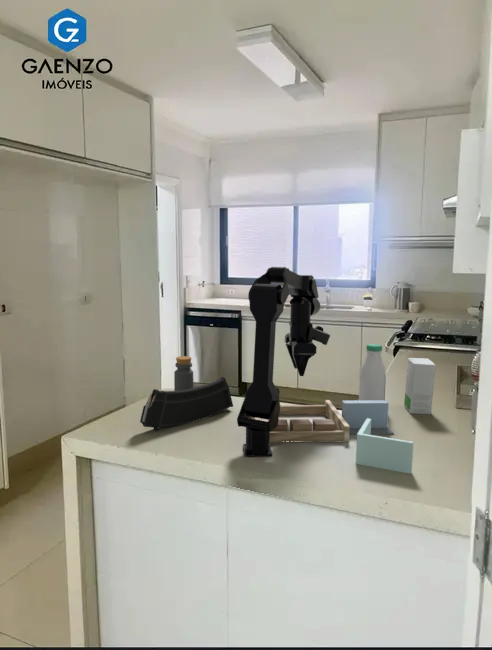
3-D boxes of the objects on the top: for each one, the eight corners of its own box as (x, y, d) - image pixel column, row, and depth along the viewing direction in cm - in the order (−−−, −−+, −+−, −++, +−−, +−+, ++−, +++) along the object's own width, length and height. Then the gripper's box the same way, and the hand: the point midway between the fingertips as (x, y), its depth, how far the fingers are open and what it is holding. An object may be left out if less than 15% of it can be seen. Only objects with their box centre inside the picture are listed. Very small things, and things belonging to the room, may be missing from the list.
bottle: (188, 408, 147) (188, 360, 145) (171, 406, 149) (170, 358, 147) (196, 402, 152) (196, 356, 150) (179, 401, 154) (179, 355, 152)
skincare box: (403, 405, 152) (406, 357, 150) (425, 406, 152) (428, 357, 150) (410, 414, 144) (413, 363, 142) (433, 414, 144) (436, 363, 141)
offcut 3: (334, 439, 124) (335, 424, 123) (315, 439, 124) (315, 424, 123) (330, 433, 128) (331, 418, 127) (312, 433, 128) (312, 419, 127)
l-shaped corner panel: (411, 476, 104) (413, 443, 103) (355, 465, 109) (357, 434, 108) (416, 455, 115) (418, 425, 114) (365, 447, 120) (366, 418, 119)
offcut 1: (287, 439, 123) (288, 424, 122) (268, 439, 123) (268, 424, 122) (286, 434, 127) (286, 419, 126) (267, 433, 127) (267, 419, 126)
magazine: (232, 378, 148) (152, 364, 127) (239, 380, 146) (159, 366, 125) (219, 433, 147) (137, 428, 126) (226, 436, 145) (144, 431, 124)
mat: (393, 434, 127) (393, 432, 127) (345, 434, 127) (345, 433, 126) (381, 421, 137) (381, 420, 137) (336, 421, 136) (336, 420, 136)
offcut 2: (311, 439, 124) (312, 424, 123) (292, 439, 123) (293, 424, 123) (307, 433, 128) (308, 418, 127) (289, 434, 127) (289, 419, 126)
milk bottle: (383, 413, 144) (386, 348, 141) (356, 410, 147) (359, 346, 144) (385, 406, 151) (388, 343, 149) (360, 403, 154) (363, 341, 151)
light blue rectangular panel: (387, 427, 131) (388, 403, 130) (343, 428, 130) (344, 403, 129) (383, 424, 133) (385, 400, 132) (341, 425, 133) (342, 400, 132)
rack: (348, 441, 122) (349, 426, 121) (256, 442, 121) (257, 427, 120) (328, 413, 144) (329, 400, 144) (250, 413, 143) (250, 400, 142)
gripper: (336, 323, 129) (333, 380, 131) (321, 315, 147) (319, 364, 150) (294, 323, 128) (293, 380, 131) (285, 314, 147) (283, 364, 149)
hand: (298, 372), depth 140 cm, fingers open, 9 cm apart
